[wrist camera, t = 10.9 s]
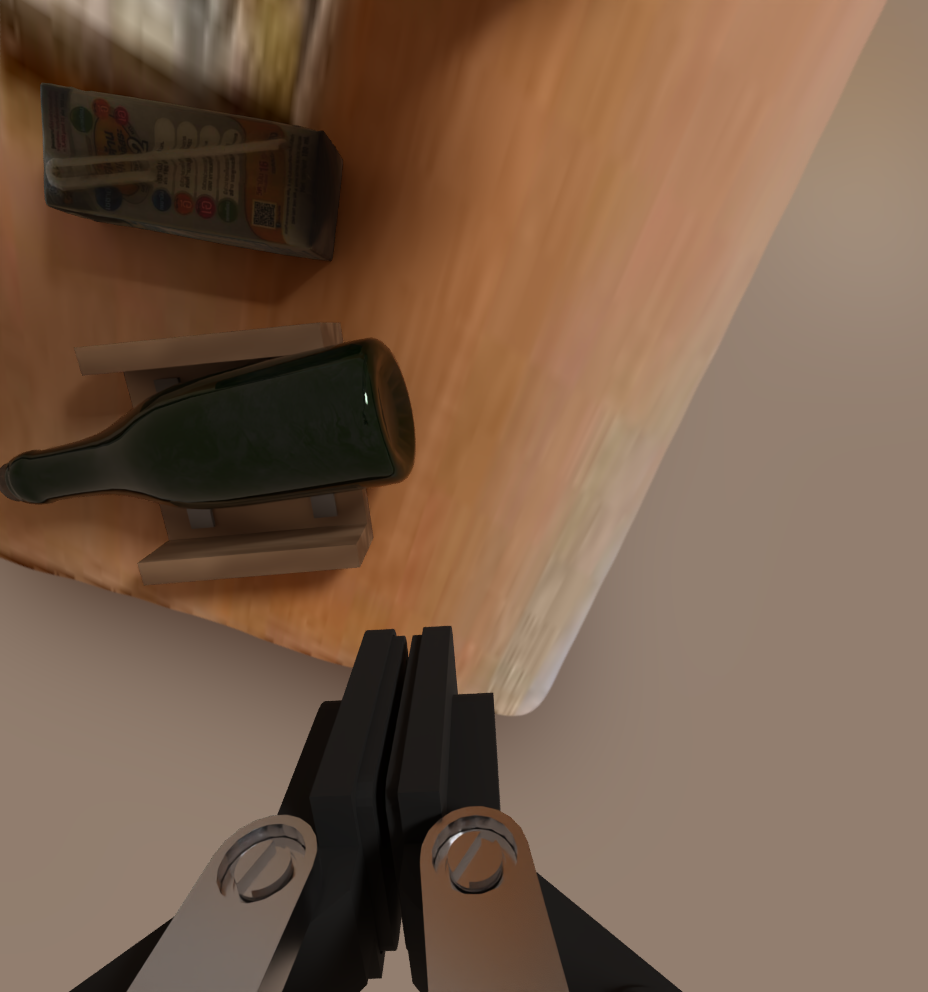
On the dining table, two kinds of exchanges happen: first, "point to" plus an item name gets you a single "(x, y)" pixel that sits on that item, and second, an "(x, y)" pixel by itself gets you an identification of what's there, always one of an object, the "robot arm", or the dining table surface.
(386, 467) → the beer bottle
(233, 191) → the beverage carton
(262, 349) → the cradle
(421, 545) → the dining table surface
